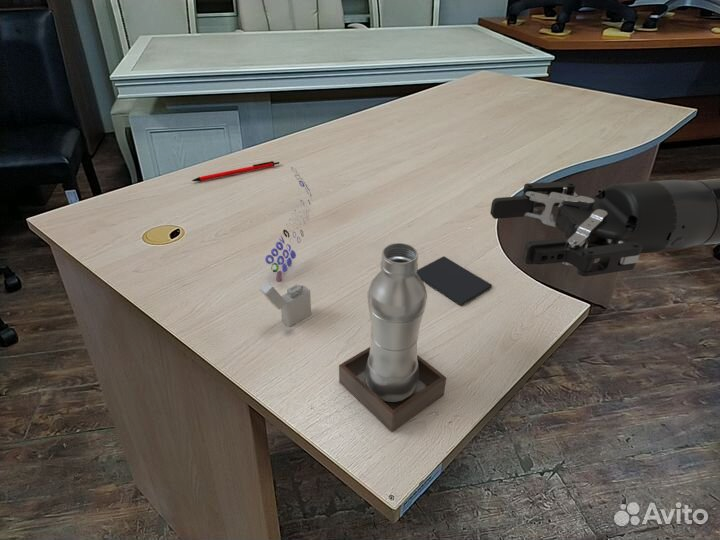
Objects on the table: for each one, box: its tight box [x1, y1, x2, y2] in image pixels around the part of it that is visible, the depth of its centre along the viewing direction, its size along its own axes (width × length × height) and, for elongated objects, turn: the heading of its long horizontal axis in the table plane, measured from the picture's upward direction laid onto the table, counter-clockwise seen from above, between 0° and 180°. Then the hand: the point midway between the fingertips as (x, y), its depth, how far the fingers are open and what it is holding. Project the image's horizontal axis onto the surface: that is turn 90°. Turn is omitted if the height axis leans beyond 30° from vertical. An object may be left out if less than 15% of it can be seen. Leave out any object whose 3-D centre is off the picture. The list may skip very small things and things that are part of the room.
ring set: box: [264, 166, 312, 282], centre depth 89 cm, size 25×12×12 cm, turn 168°
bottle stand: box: [338, 346, 447, 433], centre depth 64 cm, size 10×9×3 cm
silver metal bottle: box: [364, 242, 428, 403], centre depth 59 cm, size 6×7×20 cm
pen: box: [191, 160, 280, 182], centre depth 111 cm, size 1×19×1 cm, turn 118°
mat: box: [416, 256, 493, 307], centre depth 82 cm, size 10×7×1 cm
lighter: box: [259, 281, 312, 328], centre depth 72 cm, size 7×2×8 cm, turn 133°
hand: (507, 229), depth 53 cm, fingers open, 8 cm apart
